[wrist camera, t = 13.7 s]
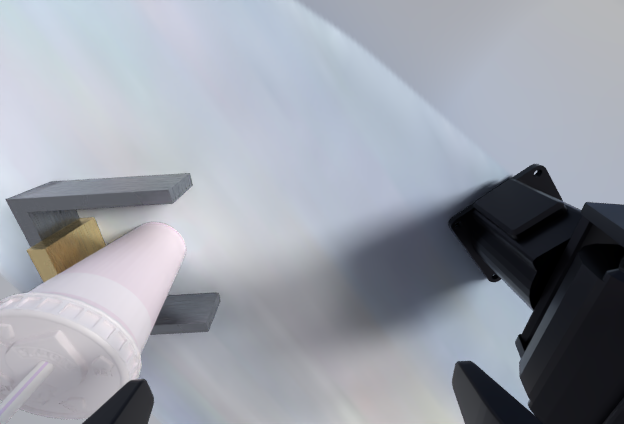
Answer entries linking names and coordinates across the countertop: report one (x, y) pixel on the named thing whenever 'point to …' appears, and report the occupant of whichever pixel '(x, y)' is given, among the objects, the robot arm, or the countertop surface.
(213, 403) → the countertop surface
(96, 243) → the bracket
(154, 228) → the smoothie
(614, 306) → the robot arm
